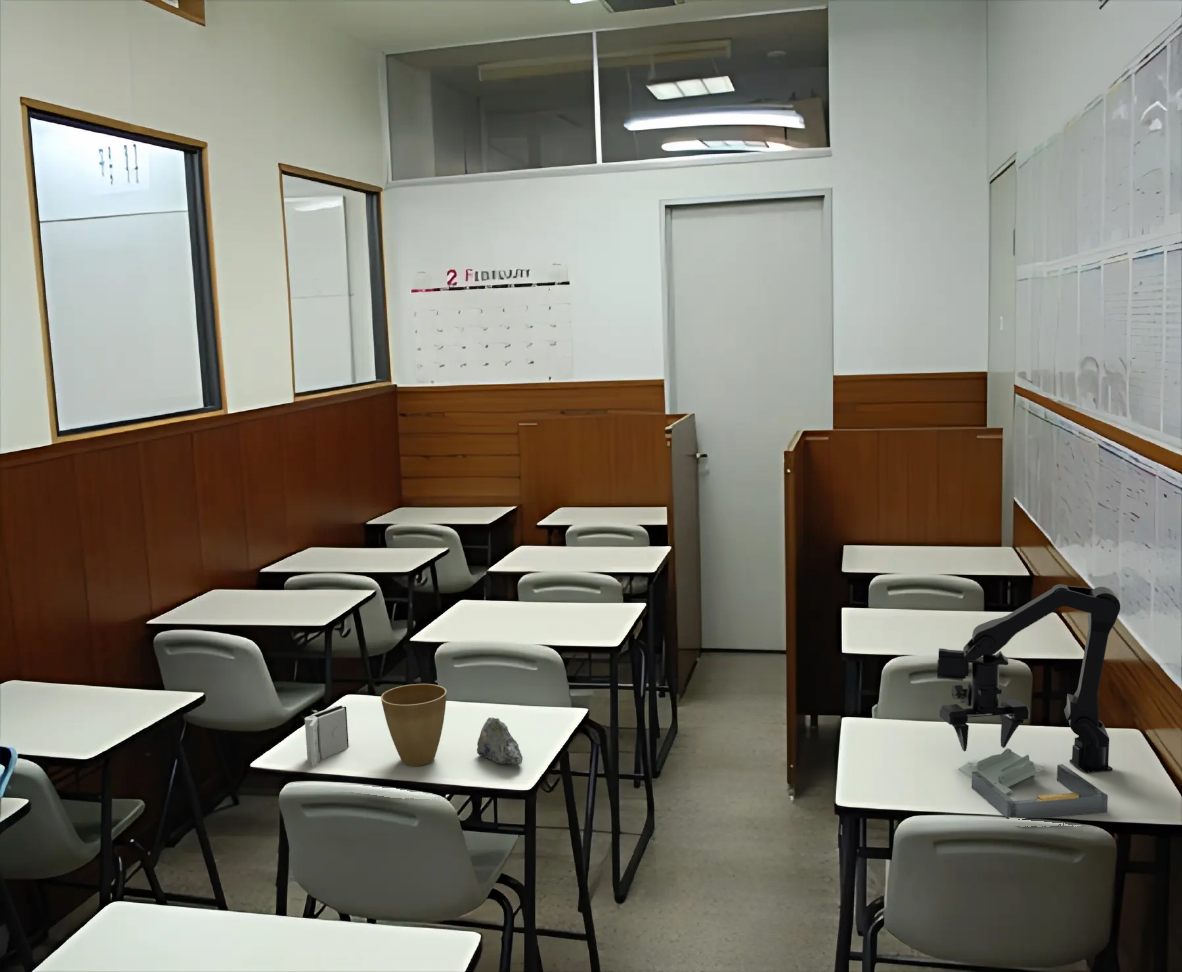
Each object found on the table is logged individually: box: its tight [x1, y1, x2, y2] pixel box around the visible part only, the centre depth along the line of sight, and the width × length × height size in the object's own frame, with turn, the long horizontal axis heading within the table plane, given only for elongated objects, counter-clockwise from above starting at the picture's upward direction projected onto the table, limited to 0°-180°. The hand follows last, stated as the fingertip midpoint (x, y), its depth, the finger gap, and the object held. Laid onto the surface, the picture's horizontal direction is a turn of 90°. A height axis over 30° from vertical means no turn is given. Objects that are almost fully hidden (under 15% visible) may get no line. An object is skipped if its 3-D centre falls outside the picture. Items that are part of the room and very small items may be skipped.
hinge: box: [304, 705, 350, 769], centre depth 258 cm, size 13×8×10 cm, turn 0°
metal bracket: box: [957, 748, 1044, 796], centre depth 235 cm, size 14×6×15 cm
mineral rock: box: [476, 717, 523, 765], centre depth 251 cm, size 13×11×10 cm
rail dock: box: [971, 763, 1109, 819], centre depth 224 cm, size 20×16×4 cm
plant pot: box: [380, 683, 448, 767], centre depth 253 cm, size 15×15×16 cm
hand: (983, 748), depth 247 cm, fingers open, 9 cm apart
